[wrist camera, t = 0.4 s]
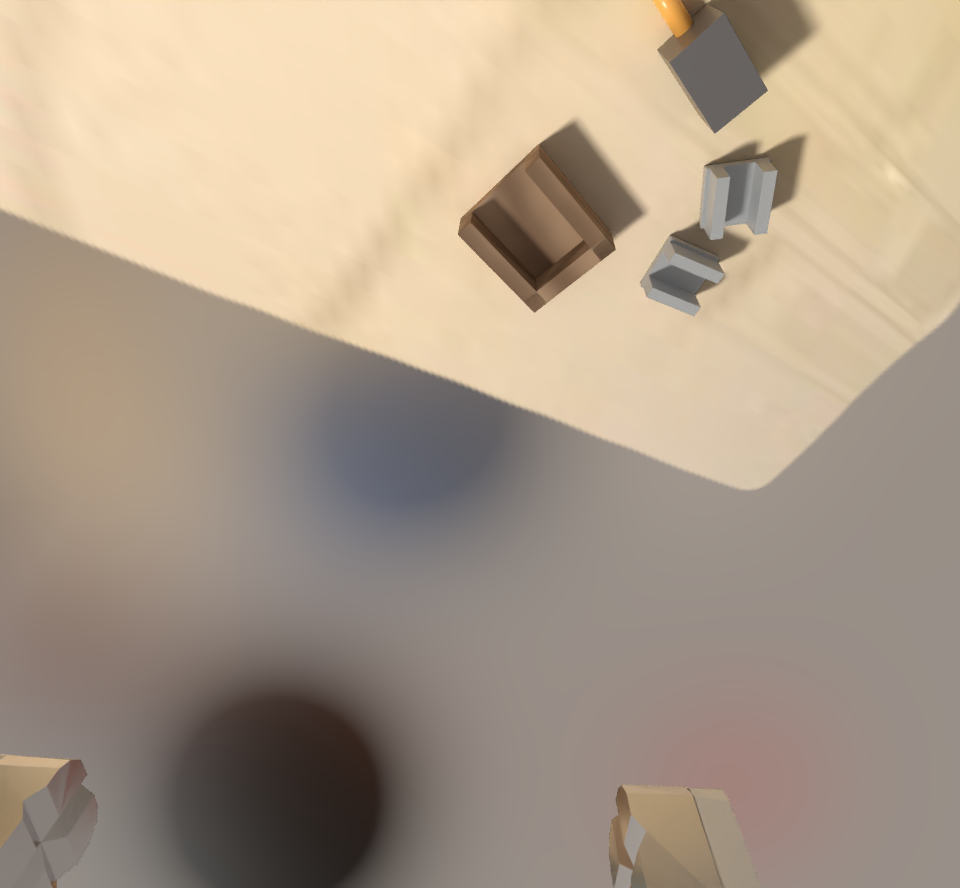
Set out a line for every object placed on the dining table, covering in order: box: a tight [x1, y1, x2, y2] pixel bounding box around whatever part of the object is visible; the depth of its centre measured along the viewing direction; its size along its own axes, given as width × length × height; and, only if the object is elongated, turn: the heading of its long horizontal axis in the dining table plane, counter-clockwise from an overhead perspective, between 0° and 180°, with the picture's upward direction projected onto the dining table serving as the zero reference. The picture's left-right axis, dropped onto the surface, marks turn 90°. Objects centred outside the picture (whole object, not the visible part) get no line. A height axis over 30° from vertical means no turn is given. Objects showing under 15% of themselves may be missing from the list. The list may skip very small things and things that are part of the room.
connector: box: [653, 0, 768, 133], centre depth 41 cm, size 4×10×5 cm, turn 44°
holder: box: [458, 144, 616, 313], centre depth 52 cm, size 9×10×4 cm
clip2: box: [640, 235, 724, 316], centre depth 54 cm, size 5×5×3 cm
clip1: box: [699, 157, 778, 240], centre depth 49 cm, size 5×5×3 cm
